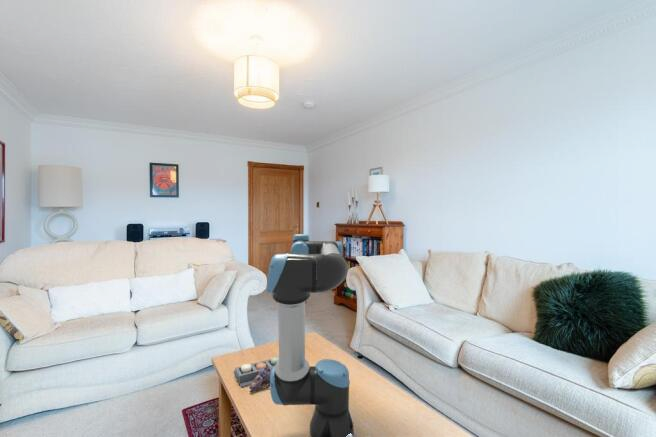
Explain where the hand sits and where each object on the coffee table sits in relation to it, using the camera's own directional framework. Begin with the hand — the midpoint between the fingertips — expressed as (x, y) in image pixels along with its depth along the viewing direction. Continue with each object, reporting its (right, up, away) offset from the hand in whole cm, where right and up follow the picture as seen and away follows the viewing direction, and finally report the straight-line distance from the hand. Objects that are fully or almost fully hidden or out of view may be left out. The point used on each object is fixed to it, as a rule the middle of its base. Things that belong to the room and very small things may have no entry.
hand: (300, 317), depth 143 cm
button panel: (-18, -26, -1) cm, 31 cm away
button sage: (-12, -23, +2) cm, 26 cm away
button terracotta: (-18, -24, -1) cm, 30 cm away
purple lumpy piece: (-16, -26, -11) cm, 32 cm away
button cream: (-24, -23, -5) cm, 34 cm away
